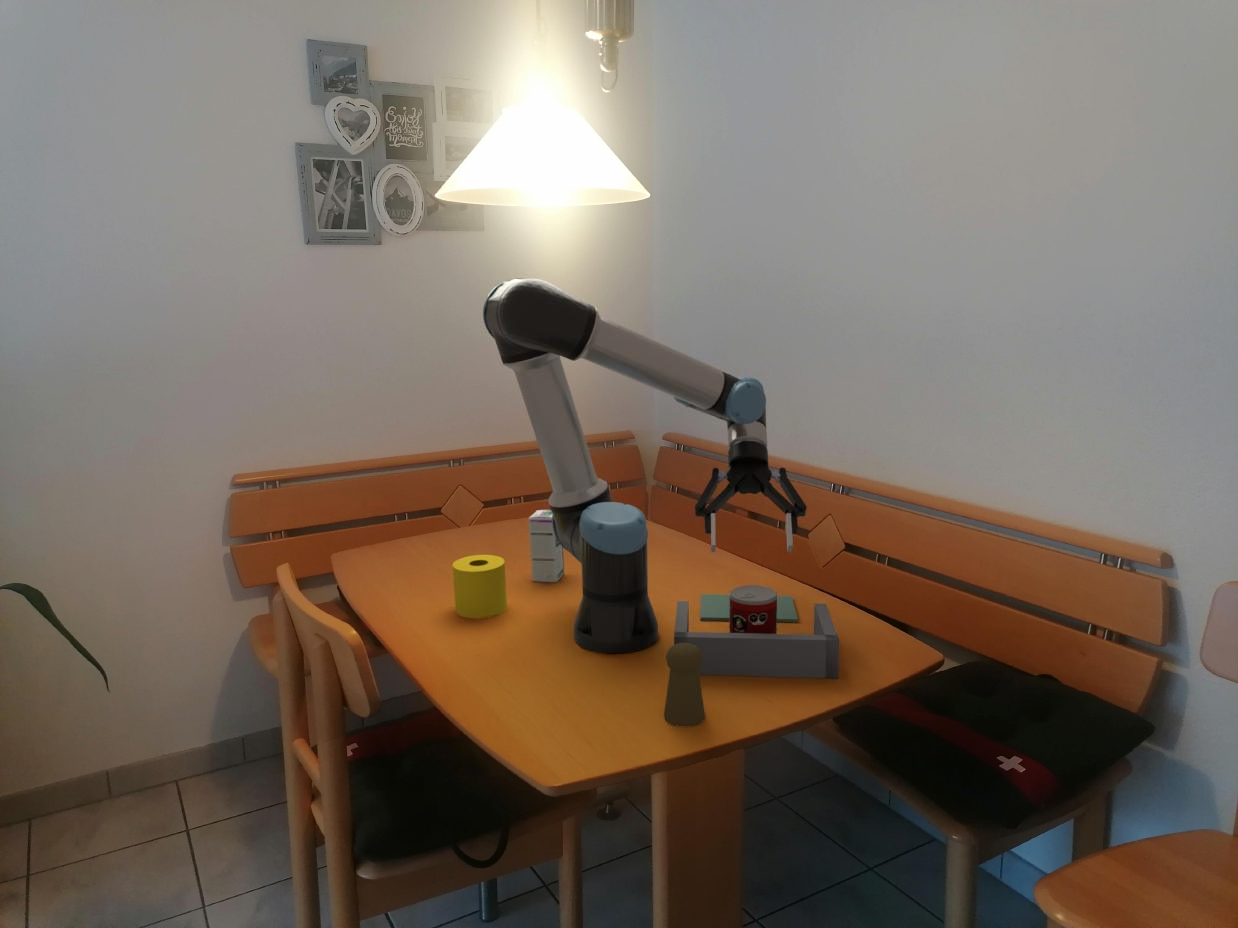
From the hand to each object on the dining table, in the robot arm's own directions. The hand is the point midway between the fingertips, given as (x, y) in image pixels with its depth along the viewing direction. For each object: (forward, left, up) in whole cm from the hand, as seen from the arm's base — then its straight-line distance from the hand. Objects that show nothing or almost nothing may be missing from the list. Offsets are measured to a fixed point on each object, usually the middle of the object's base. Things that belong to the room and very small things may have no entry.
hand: (751, 548), depth 152 cm
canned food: (0, -11, -15) cm, 19 cm away
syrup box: (-42, +25, -15) cm, 51 cm away
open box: (0, -11, -15) cm, 19 cm away
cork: (-11, -33, -15) cm, 38 cm away
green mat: (0, +9, -15) cm, 18 cm away
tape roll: (-52, +7, -15) cm, 55 cm away
